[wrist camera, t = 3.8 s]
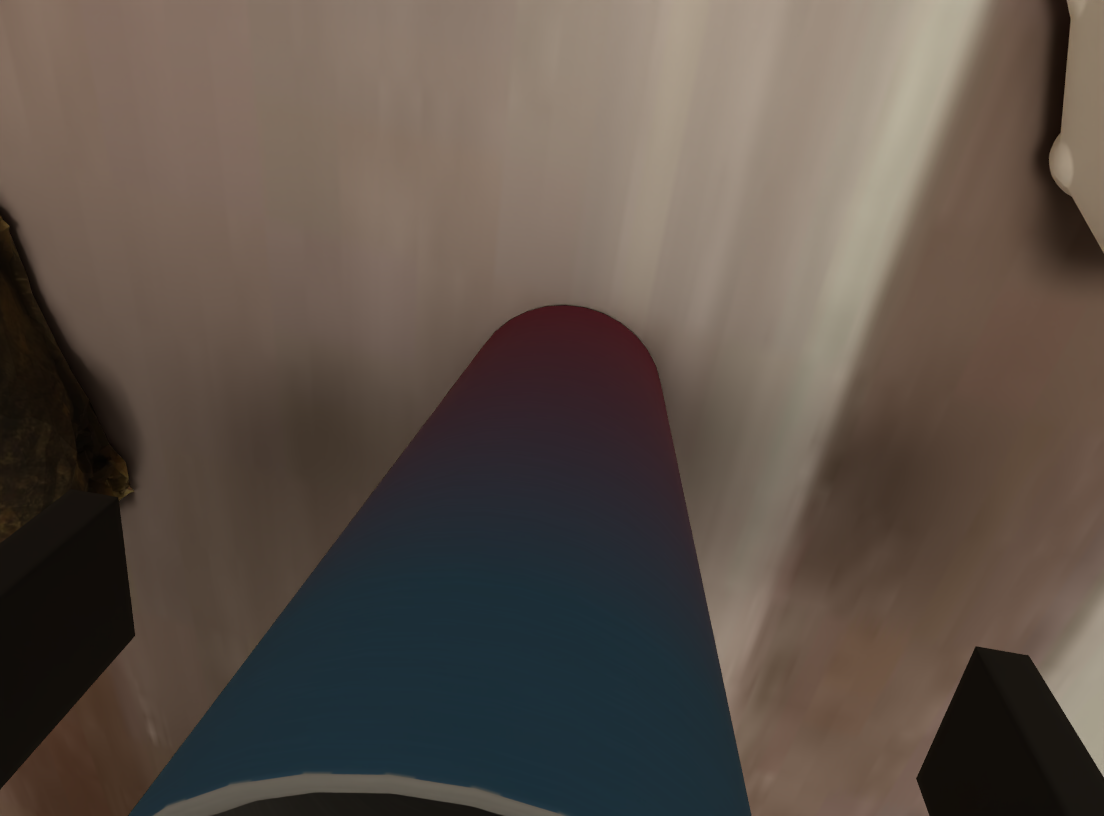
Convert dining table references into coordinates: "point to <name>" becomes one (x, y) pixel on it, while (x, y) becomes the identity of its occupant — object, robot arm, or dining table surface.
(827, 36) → the dining table surface
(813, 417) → the dining table surface
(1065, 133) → the bone shaped toy
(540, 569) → the cup
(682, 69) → the dining table surface
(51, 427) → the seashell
